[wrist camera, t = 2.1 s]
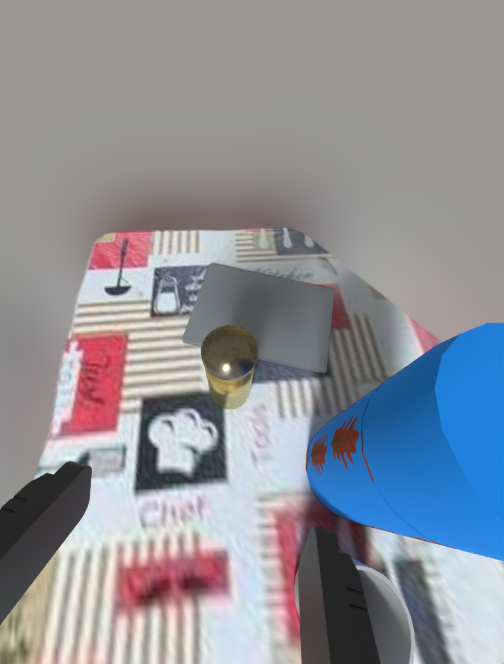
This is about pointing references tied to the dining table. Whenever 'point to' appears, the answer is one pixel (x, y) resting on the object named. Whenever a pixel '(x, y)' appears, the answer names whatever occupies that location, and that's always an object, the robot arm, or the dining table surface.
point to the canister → (229, 364)
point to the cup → (383, 616)
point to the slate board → (266, 315)
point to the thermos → (424, 449)
